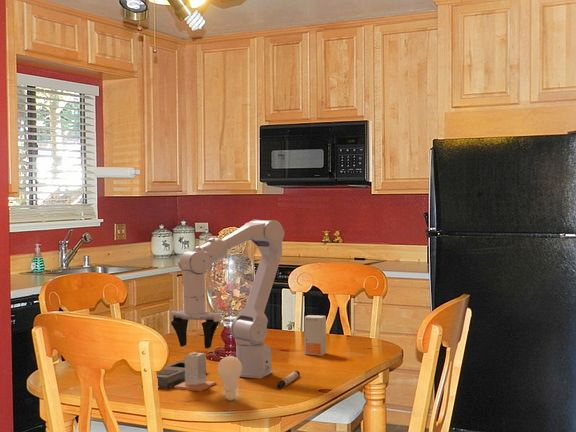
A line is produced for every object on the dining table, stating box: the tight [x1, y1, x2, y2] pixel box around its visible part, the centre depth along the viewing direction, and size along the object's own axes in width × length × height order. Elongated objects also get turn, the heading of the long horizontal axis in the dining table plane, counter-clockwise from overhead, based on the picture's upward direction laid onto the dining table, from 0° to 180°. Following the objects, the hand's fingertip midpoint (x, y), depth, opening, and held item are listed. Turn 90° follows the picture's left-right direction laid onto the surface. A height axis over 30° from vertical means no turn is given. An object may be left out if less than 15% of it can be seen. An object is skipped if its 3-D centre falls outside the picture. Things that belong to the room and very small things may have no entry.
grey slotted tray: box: [157, 359, 185, 390], centre depth 218 cm, size 8×20×3 cm, turn 156°
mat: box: [173, 380, 217, 392], centre depth 209 cm, size 8×8×1 cm
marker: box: [275, 370, 301, 389], centre depth 212 cm, size 15×2×2 cm, turn 160°
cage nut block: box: [184, 351, 207, 386], centre depth 209 cm, size 4×4×8 cm
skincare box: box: [303, 314, 327, 357], centre depth 248 cm, size 6×4×12 cm
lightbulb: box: [216, 355, 242, 401], centre depth 195 cm, size 6×6×11 cm
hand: (195, 346), depth 210 cm, fingers open, 7 cm apart
